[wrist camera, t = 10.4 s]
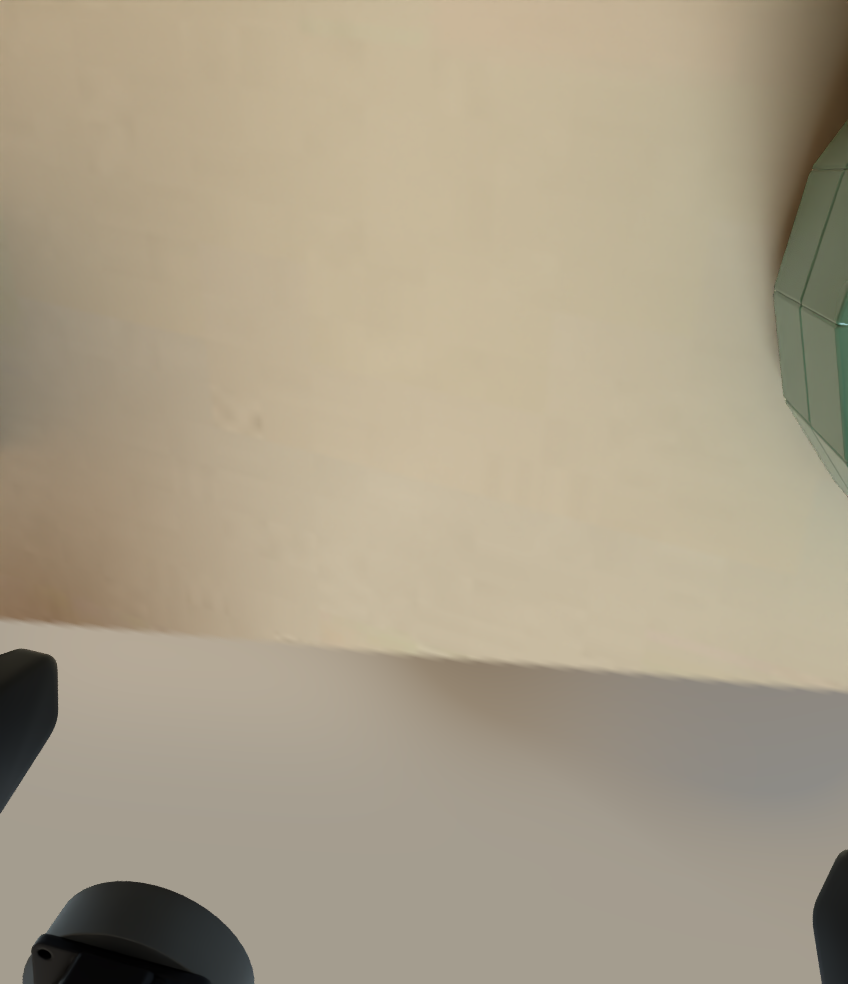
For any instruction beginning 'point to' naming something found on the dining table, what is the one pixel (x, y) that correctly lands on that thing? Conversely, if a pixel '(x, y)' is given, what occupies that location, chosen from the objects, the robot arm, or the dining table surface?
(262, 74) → the dining table surface
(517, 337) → the dining table surface
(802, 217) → the bowl
